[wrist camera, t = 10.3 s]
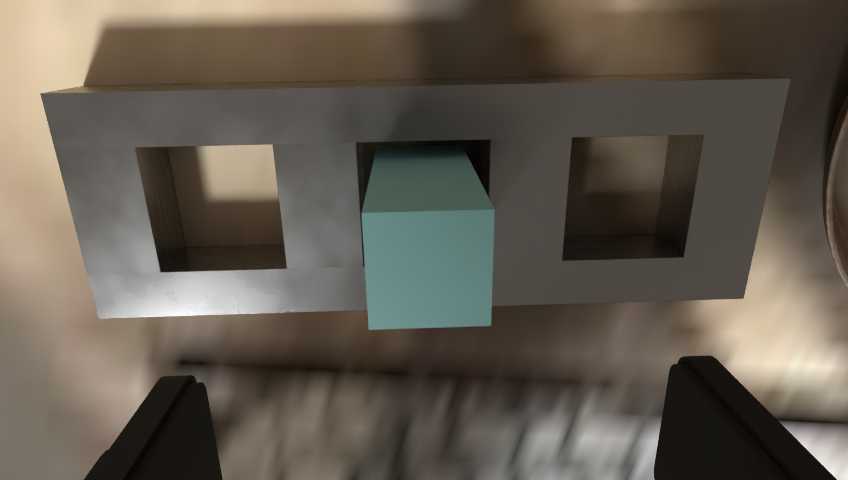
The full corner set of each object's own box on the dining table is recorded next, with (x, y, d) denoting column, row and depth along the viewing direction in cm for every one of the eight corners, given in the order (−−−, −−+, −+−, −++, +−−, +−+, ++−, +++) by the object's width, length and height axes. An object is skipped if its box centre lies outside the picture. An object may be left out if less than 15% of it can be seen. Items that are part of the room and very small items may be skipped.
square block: (461, 224, 27) (490, 326, 18) (380, 227, 27) (368, 329, 18) (461, 144, 26) (494, 209, 16) (376, 146, 26) (361, 212, 16)
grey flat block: (710, 272, 29) (743, 298, 26) (129, 289, 28) (98, 318, 25) (747, 73, 25) (790, 78, 22) (82, 86, 24) (40, 93, 21)
